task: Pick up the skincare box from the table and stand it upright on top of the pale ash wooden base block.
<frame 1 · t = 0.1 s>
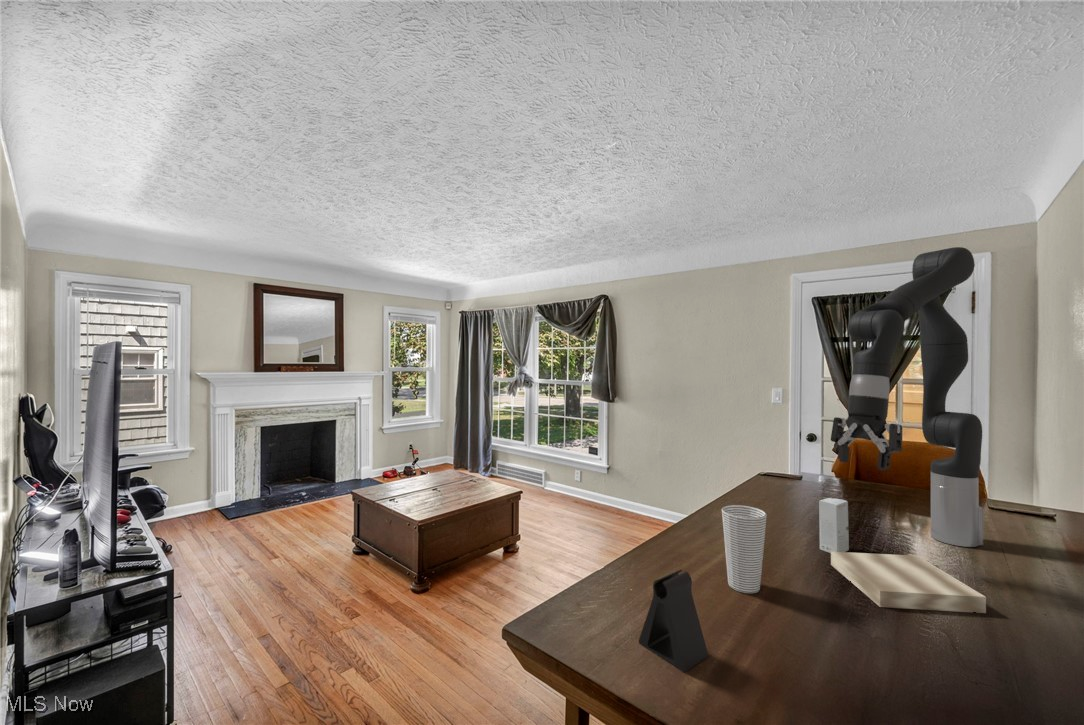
hand: (862, 465, 104), 22 cm above the table, tool pointing down, fingers open, 8 cm apart
cup: (743, 587, 93), on the table
phone stand: (672, 651, 72), on the table
skincare box: (833, 550, 112), on the table
base block: (900, 586, 93), on the table
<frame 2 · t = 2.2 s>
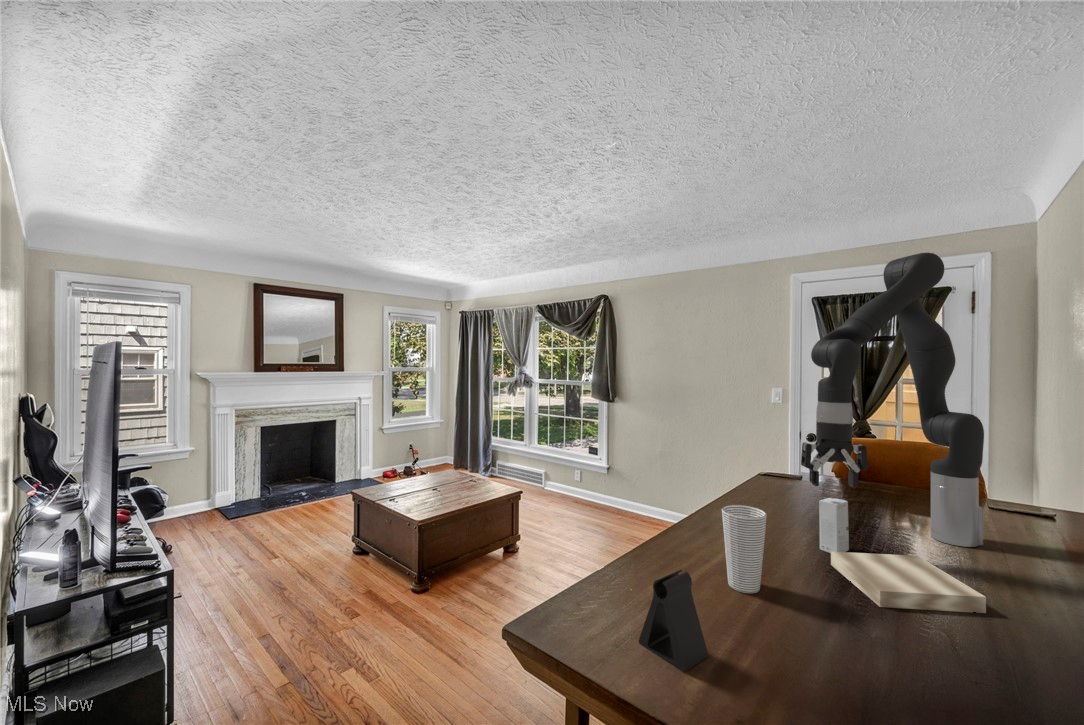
hand: (833, 486, 112), 16 cm above the table, tool pointing down, fingers open, 8 cm apart
nothing on the table moved.
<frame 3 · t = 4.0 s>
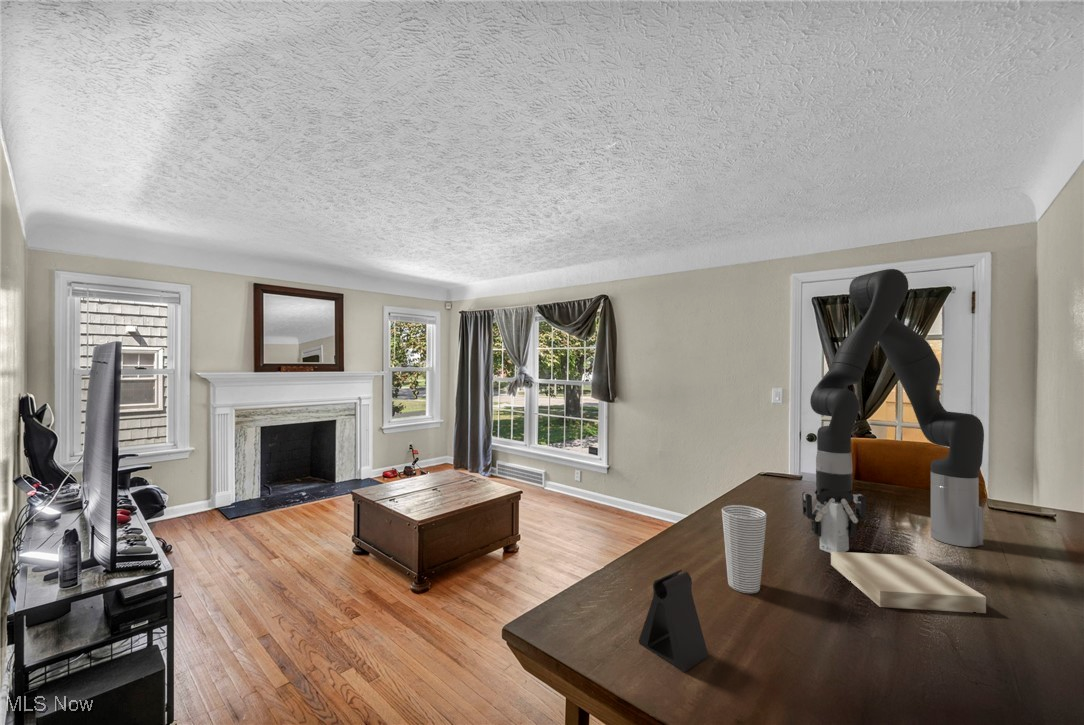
hand: (833, 536, 112), 3 cm above the table, tool pointing down, fingers closed on skincare box, 7 cm apart
skincare box: (833, 550, 112), on the table, touching gripper
everything else where it was.
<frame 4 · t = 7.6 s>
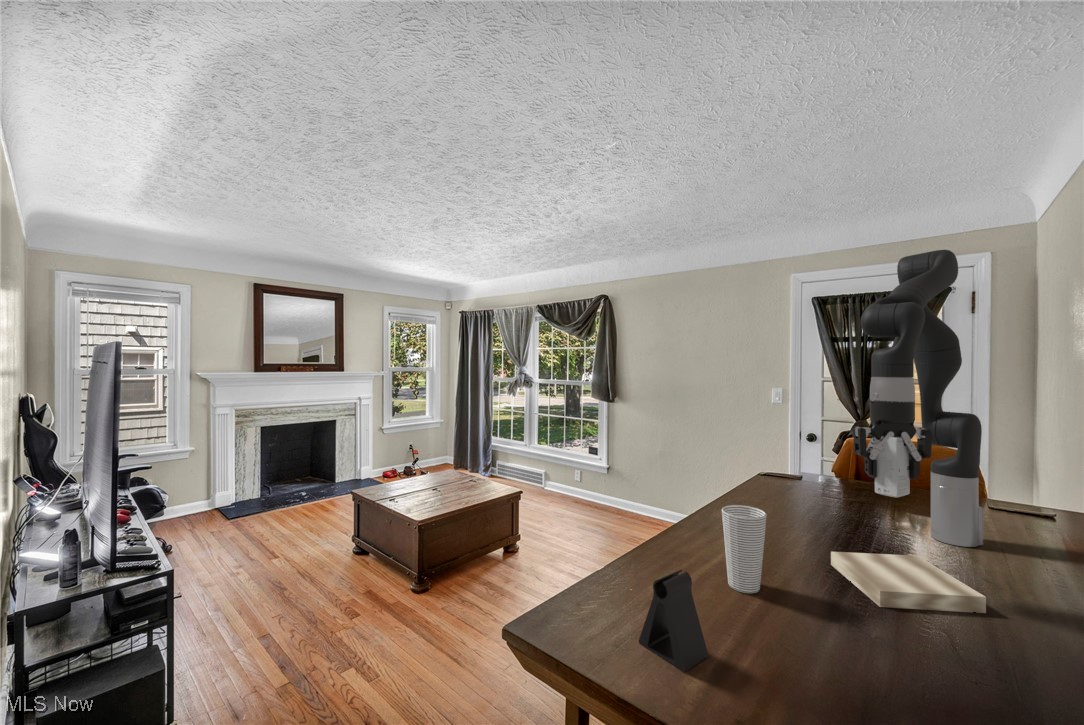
hand: (891, 477, 95), 22 cm above the table, tool pointing down, fingers closed on skincare box, 7 cm apart
skincare box: (891, 494, 95), point 18 cm above the table, touching gripper
everything else where it was.
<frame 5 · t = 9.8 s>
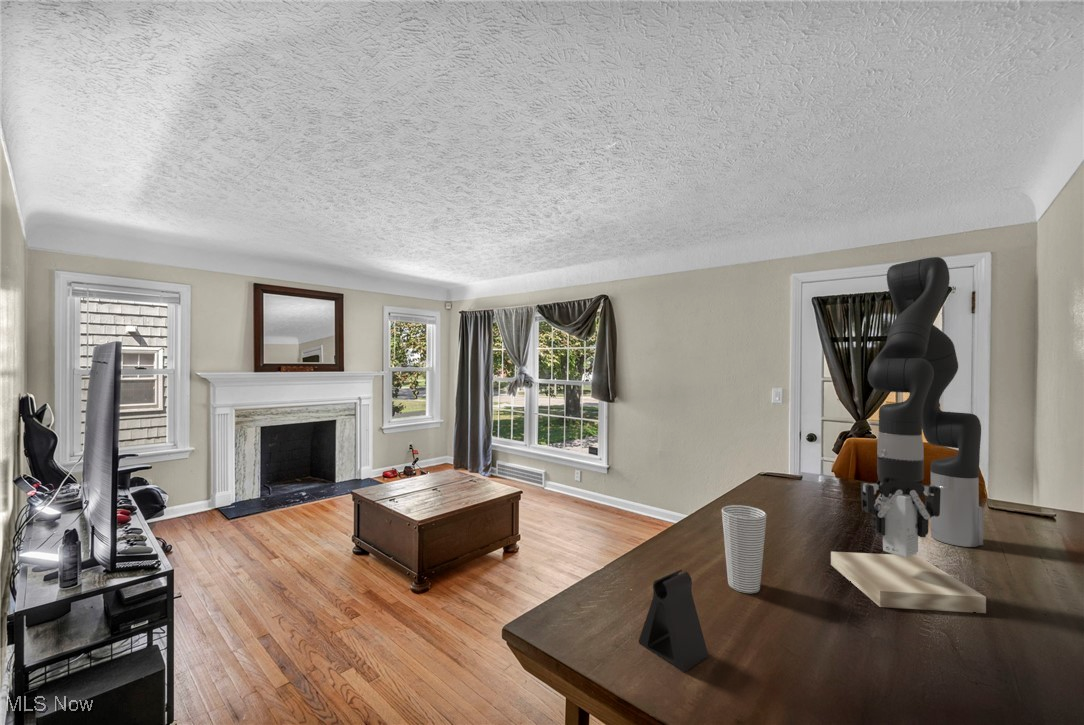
hand: (899, 534, 93), 11 cm above the table, tool pointing down, fingers closed on skincare box, 7 cm apart
skincare box: (899, 552, 93), point 7 cm above the table, touching gripper
everything else where it was.
when the fingers open (8 cm above the table, at t = 11.5 s): skincare box drops 1 cm, resting on base block.
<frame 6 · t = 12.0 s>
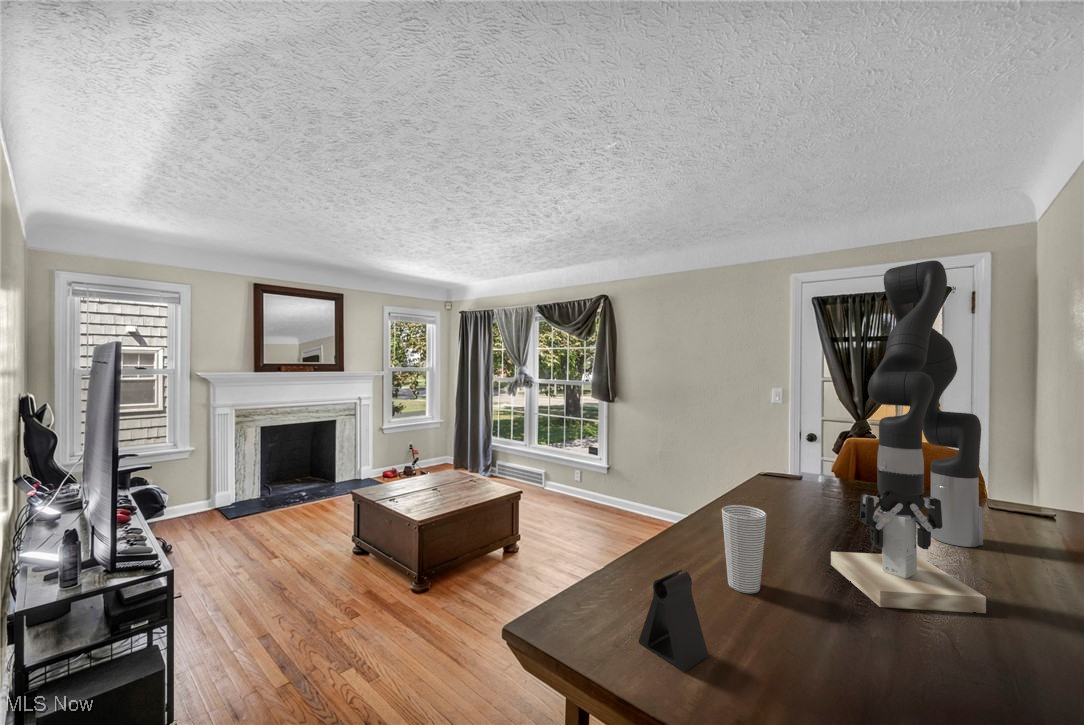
hand: (900, 547, 93), 8 cm above the table, tool pointing down, fingers open, 8 cm apart
skincare box: (899, 572, 93), point 3 cm above the table, touching base block
everything else where it was.
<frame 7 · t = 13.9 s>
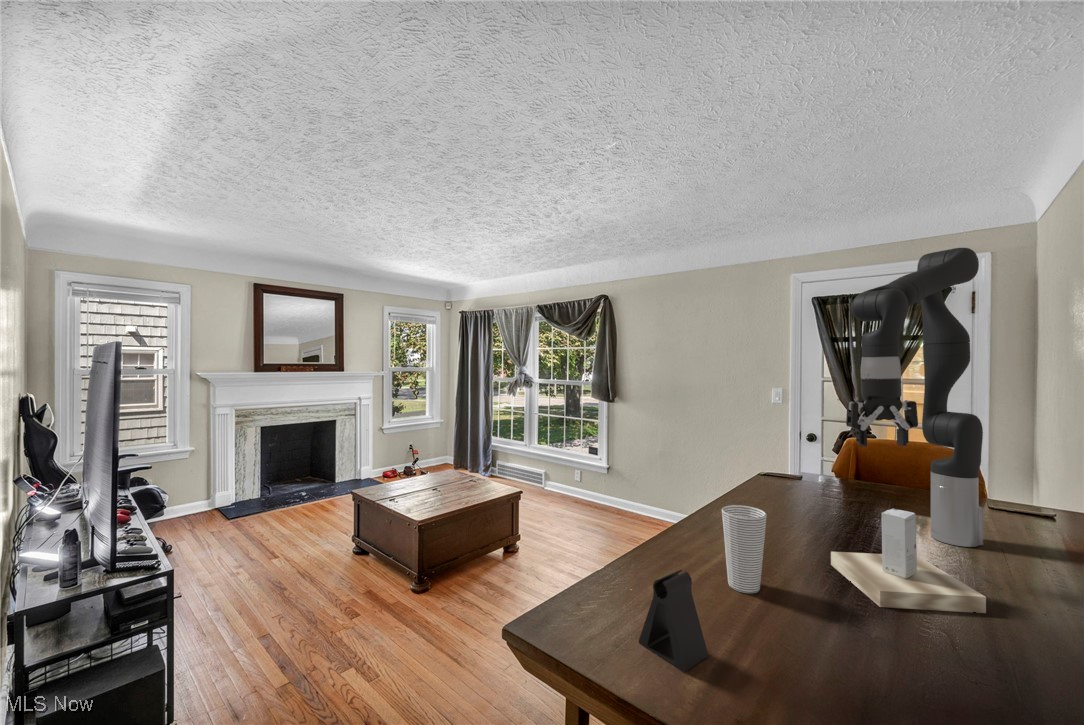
hand: (882, 445, 105), 27 cm above the table, tool pointing down, fingers open, 8 cm apart
nothing on the table moved.
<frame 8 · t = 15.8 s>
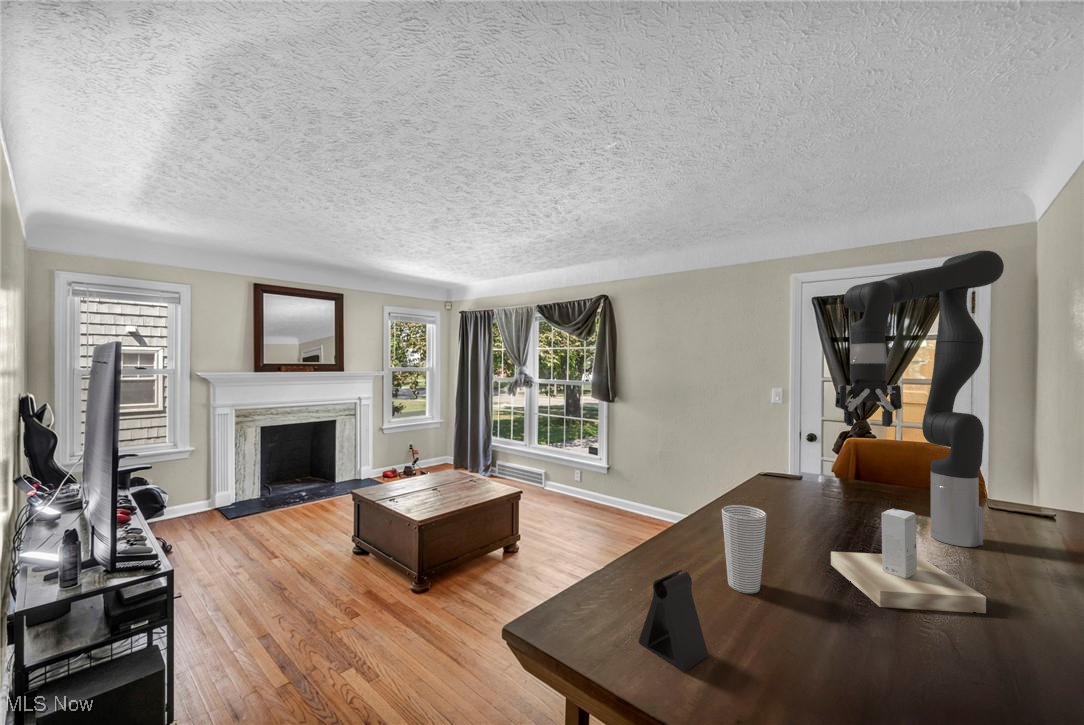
hand: (867, 426, 114), 30 cm above the table, tool pointing down, fingers open, 8 cm apart
nothing on the table moved.
at the end: skincare box inside the target area on the base block (0.1 cm from its centre), point 2.8 cm above the base block's base; skincare box tilted 0°; the gripper is holding nothing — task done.
